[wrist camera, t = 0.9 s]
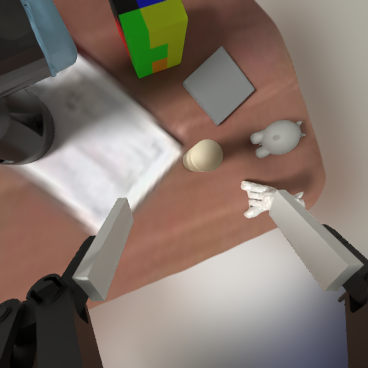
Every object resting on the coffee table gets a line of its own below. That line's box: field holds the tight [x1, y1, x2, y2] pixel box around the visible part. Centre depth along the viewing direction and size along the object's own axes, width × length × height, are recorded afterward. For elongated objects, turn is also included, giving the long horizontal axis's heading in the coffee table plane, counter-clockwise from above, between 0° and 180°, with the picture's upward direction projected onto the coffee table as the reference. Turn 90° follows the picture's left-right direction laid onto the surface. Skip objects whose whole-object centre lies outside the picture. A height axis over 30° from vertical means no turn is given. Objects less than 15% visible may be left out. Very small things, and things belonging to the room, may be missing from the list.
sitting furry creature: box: [241, 181, 305, 218], centre depth 33 cm, size 10×9×12 cm
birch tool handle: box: [182, 139, 223, 172], centre depth 30 cm, size 5×5×12 cm
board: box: [183, 46, 255, 126], centre depth 35 cm, size 12×12×1 cm
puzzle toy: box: [109, 0, 188, 78], centre depth 28 cm, size 10×10×10 cm
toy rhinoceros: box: [250, 120, 305, 158], centre depth 34 cm, size 7×12×8 cm, turn 110°
